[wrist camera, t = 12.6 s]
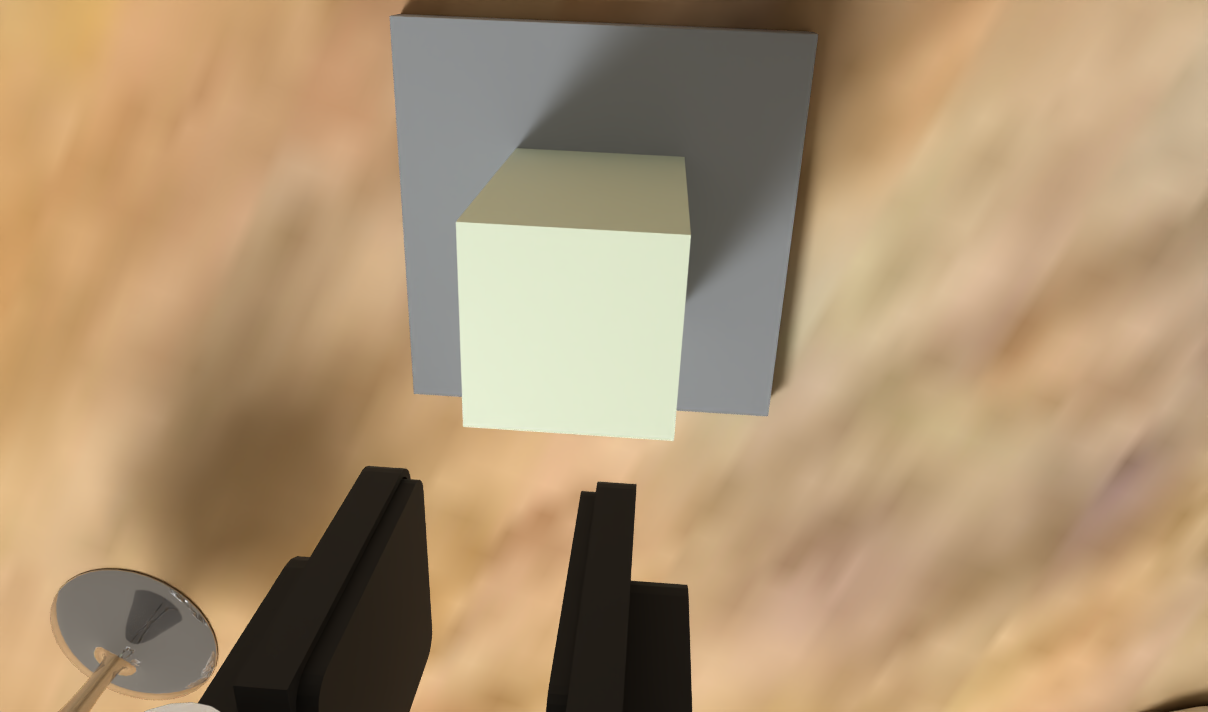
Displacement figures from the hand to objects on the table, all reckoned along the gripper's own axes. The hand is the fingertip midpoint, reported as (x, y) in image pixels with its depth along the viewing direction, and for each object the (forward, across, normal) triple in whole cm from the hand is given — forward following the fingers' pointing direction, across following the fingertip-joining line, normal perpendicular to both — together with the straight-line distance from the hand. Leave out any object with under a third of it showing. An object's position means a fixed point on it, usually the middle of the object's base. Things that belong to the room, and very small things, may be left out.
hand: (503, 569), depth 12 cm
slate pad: (+17, 0, 0) cm, 17 cm away
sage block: (+16, 0, 0) cm, 16 cm away
